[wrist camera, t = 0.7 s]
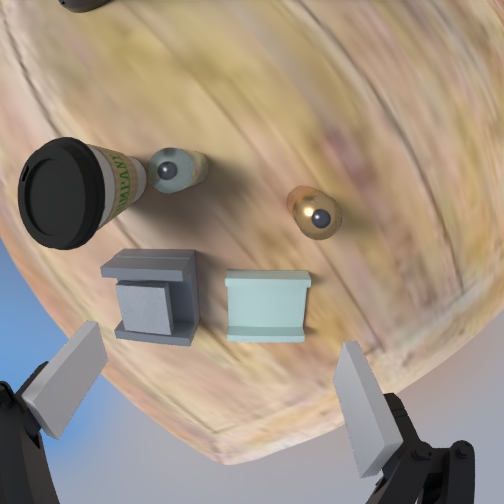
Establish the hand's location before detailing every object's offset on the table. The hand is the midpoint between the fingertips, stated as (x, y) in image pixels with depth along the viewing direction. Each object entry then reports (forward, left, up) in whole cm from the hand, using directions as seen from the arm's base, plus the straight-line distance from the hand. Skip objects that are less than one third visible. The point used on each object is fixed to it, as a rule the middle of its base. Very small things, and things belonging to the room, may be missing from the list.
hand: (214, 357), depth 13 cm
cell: (-5, +7, -21) cm, 23 cm away
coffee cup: (-8, -15, -22) cm, 27 cm away
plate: (+6, -11, -16) cm, 20 cm away
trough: (+8, +3, -21) cm, 23 cm away
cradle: (+6, -11, -21) cm, 25 cm away
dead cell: (-9, -6, -21) cm, 24 cm away
